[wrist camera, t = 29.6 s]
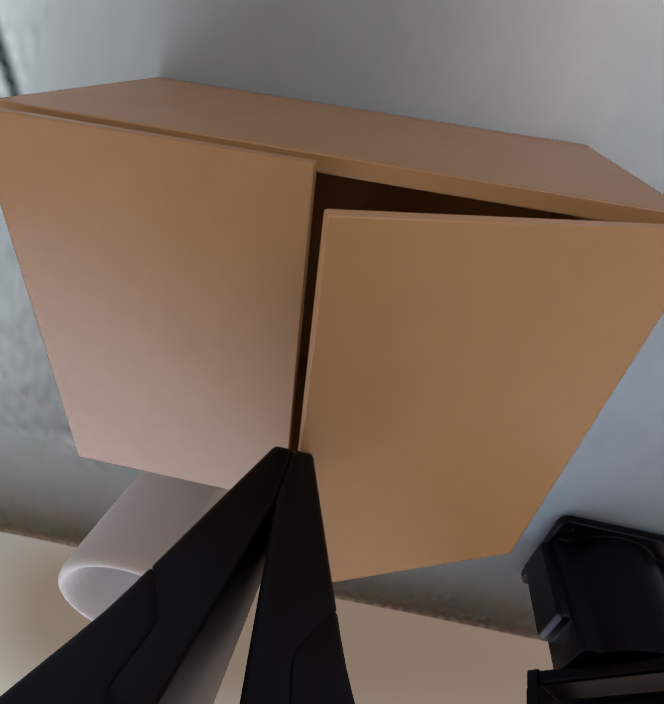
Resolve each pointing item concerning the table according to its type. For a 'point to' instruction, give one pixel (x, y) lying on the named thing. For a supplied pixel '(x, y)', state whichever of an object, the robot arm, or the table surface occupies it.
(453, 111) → the table surface
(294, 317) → the carton
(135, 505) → the cup
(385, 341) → the flap
